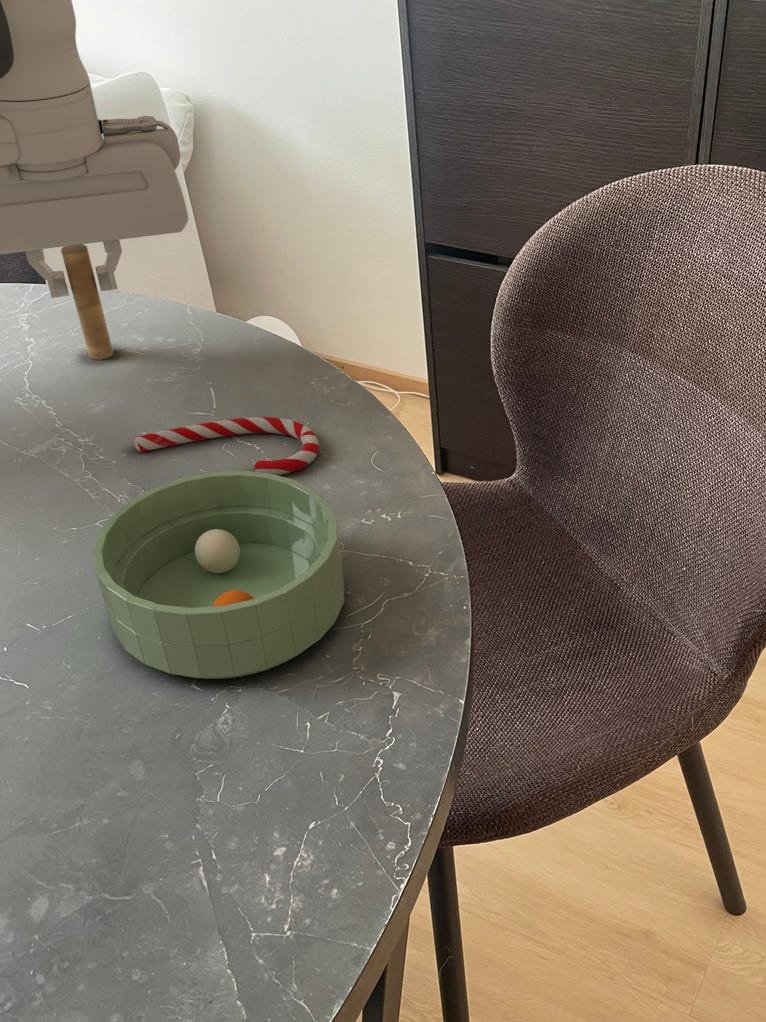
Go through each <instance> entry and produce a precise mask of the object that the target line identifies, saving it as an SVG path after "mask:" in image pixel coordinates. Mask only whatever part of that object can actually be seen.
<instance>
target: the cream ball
mask: <svg viewBox="0 0 766 1022" xmlns="http://www.w3.org/2000/svg"><path fill="white" fill-rule="evenodd" d="M195 556H196V559H197V561H198V563H199V564H200V566H201V567H202V568H204V569H205V570H207V571H209V572H212V573H224V572H227V571H229V570H231V569H232V568H233V567H234V566H235V565H236V563H237V562H238V560H239V556H240V547H239V544H238V542H237V540H236V538H235V537H234V536H233V535H232V534H230V533H229V532H227V531H224V530H220V529H214V530H209V531H207V532H205V533H204V534H202V535H201V536H200V537H199V539H198V540H197V542H196V545H195Z"/></svg>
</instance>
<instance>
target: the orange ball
mask: <svg viewBox="0 0 766 1022" xmlns="http://www.w3.org/2000/svg"><path fill="white" fill-rule="evenodd" d="M252 599H254V598H253V597H252V596H251V595H249V594H248V593H246V592H243V591H239V590H232V591H228V592H225V593H223V594H222V595H220V596H219V597H218V598H217V599H216V601H215V602H214V604H213V607H215V606H224V605H229V604H233V603H238V602H243V601H247V600H252Z"/></svg>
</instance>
